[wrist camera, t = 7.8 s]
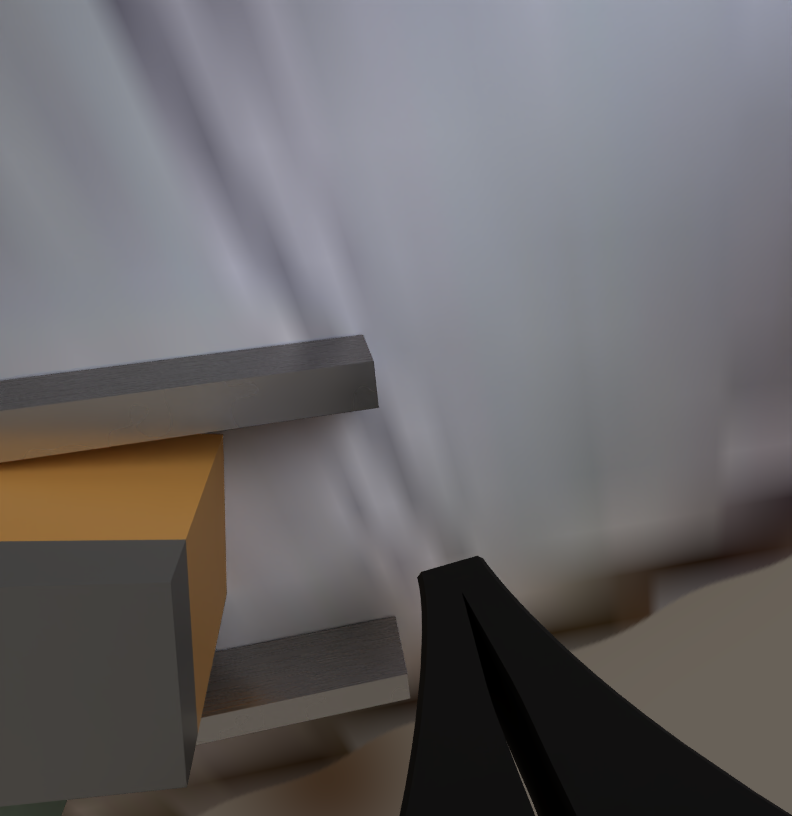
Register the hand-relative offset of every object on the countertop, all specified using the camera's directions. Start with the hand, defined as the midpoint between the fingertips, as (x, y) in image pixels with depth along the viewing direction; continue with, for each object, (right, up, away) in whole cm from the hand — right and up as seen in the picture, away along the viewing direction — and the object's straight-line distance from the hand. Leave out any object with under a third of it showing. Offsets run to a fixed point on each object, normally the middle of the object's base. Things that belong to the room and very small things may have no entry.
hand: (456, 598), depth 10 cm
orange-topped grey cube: (-8, +1, +2) cm, 9 cm away
